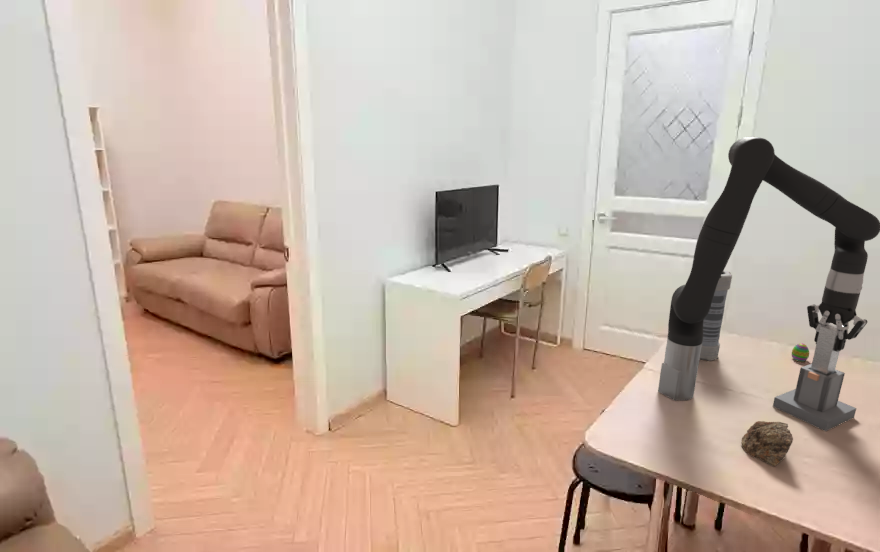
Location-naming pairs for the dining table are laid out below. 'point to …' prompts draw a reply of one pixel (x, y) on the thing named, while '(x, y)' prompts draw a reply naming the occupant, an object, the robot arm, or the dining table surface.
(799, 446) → the dining table surface
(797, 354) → the egg
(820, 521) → the dining table surface
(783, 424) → the rock
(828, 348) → the column
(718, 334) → the canister
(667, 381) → the robot arm
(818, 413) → the stand
